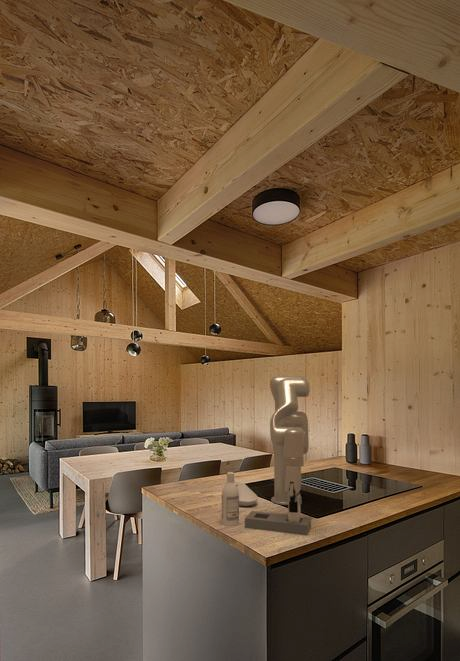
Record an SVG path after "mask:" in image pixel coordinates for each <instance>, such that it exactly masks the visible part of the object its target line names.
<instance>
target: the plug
mask: <svg viewBox="0 0 460 661" xmlns="http://www.w3.org/2000/svg"><path fill="white" fill-rule="evenodd" d="M294 496H295V495H294ZM297 501H298V512H297V513H294V512H289V495H288V505H287V506H288V507H287V508H288V509H287V510H288V513H287V515H288V521H290V522H299V523H300V521H301V516H302V514H301V505H302V502H303V501H302V496H301V493H299V494H297Z"/></svg>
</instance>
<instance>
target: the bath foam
mask: <svg viewBox="0 0 460 661" xmlns="http://www.w3.org/2000/svg"><path fill="white" fill-rule="evenodd" d="M236 485H237V483H235V472H232V471H228V472H227V473H226V483H225V484H224V486H223V488H222V490H221V525H223V526H225V527H236V526H238V525H239V524H240V505H239V491H238V488H237V486H236Z"/></svg>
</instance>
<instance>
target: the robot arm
mask: <svg viewBox="0 0 460 661" xmlns="http://www.w3.org/2000/svg"><path fill="white" fill-rule="evenodd" d="M269 387H270V392H271V394H272V395H271V396H272V397H273V400H274V412H273V414H272V416H271V417H270V421H269V430H270V431H269V432H270V433H269V434H270V441H271V443H272V451H273V462H274V463H273V464H274V468H273V469H274V470H273V471H274V476H273V477H274V480H273V481H274V496H272V497H271V502H272V503H274V504H276V505H283V506H288V495H289V512H294V513H297V512H298V501H297V494H300V491H301V489H302V467H304V465H305V464H304V460H305V459H304V455H305V454H308V452H309V449H310V446H309V445H310V444H309V442H310V441H309V437H310V436H309V419H308V418H309V417H308V415H307V414H306V412H304V411H298V410H299V401H298V398H305V397H308V396H309V394H310V392H311V390H310V389H311V386H310V382H309V381H308V379H307V378H306V377H305V376H302V375H277V376H276V375H275V376H272V377H271V378H270V380H269ZM294 495H295V496H294Z"/></svg>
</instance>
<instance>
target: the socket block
mask: <svg viewBox="0 0 460 661" xmlns="http://www.w3.org/2000/svg"><path fill="white" fill-rule="evenodd" d="M311 519H312V517H310V516H302V515H301V521H300V523H299V522H290V521H288V514H283V513H273V512H265V511H255V510H251V511H250V512H249V513H248V514H247V515H246V517H245V518H244V529H251V530H259V531H266V532H267V531H268V532H276V533H283V534H291V535H300V536H308V534H309V532H310V530H311V527H312V524H311V522H312V520H311Z"/></svg>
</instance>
